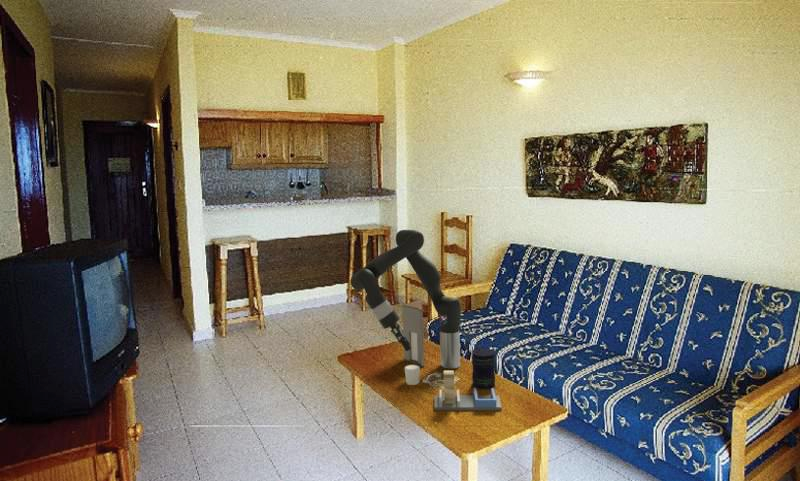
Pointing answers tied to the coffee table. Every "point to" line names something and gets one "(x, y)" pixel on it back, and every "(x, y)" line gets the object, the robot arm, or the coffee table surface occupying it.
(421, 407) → the coffee table surface
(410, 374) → the beige cylinder
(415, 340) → the cabinet
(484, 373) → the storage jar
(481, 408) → the grey slotted base
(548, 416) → the coffee table surface
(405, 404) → the coffee table surface
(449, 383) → the peg
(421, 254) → the robot arm
